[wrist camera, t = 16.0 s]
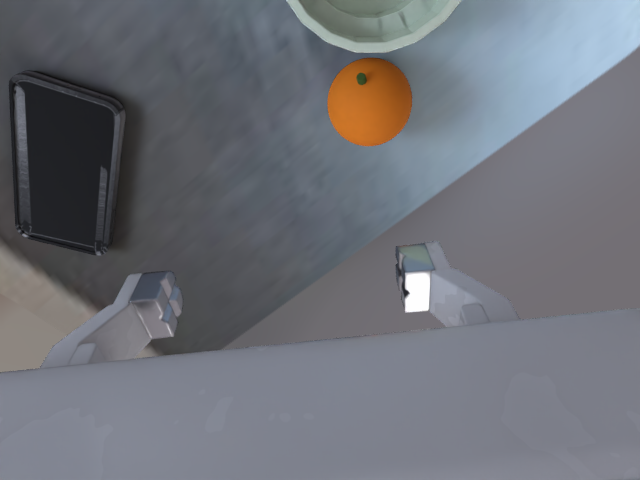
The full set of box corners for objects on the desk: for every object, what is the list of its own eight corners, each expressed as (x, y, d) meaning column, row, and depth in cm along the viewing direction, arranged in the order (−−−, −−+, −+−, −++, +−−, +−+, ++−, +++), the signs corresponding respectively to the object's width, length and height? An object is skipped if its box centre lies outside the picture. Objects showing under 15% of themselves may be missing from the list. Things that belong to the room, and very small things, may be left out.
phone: (15, 235, 38) (7, 69, 30) (22, 228, 39) (16, 66, 31) (107, 258, 40) (123, 106, 32) (112, 251, 40) (128, 102, 33)
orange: (324, 115, 34) (299, 70, 28) (387, 72, 34) (376, 16, 27) (362, 172, 33) (344, 138, 26) (429, 128, 32) (427, 82, 26)
